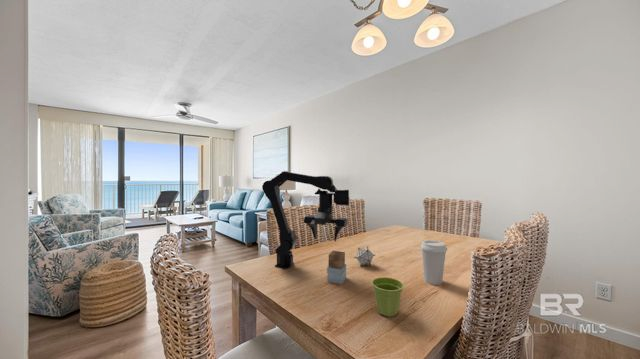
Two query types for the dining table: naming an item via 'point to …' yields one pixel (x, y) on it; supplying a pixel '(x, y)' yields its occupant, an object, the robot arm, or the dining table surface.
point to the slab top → (336, 270)
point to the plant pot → (387, 295)
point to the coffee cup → (433, 261)
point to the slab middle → (337, 276)
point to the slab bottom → (337, 280)
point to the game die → (364, 256)
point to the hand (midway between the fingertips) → (325, 240)
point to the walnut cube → (336, 259)
